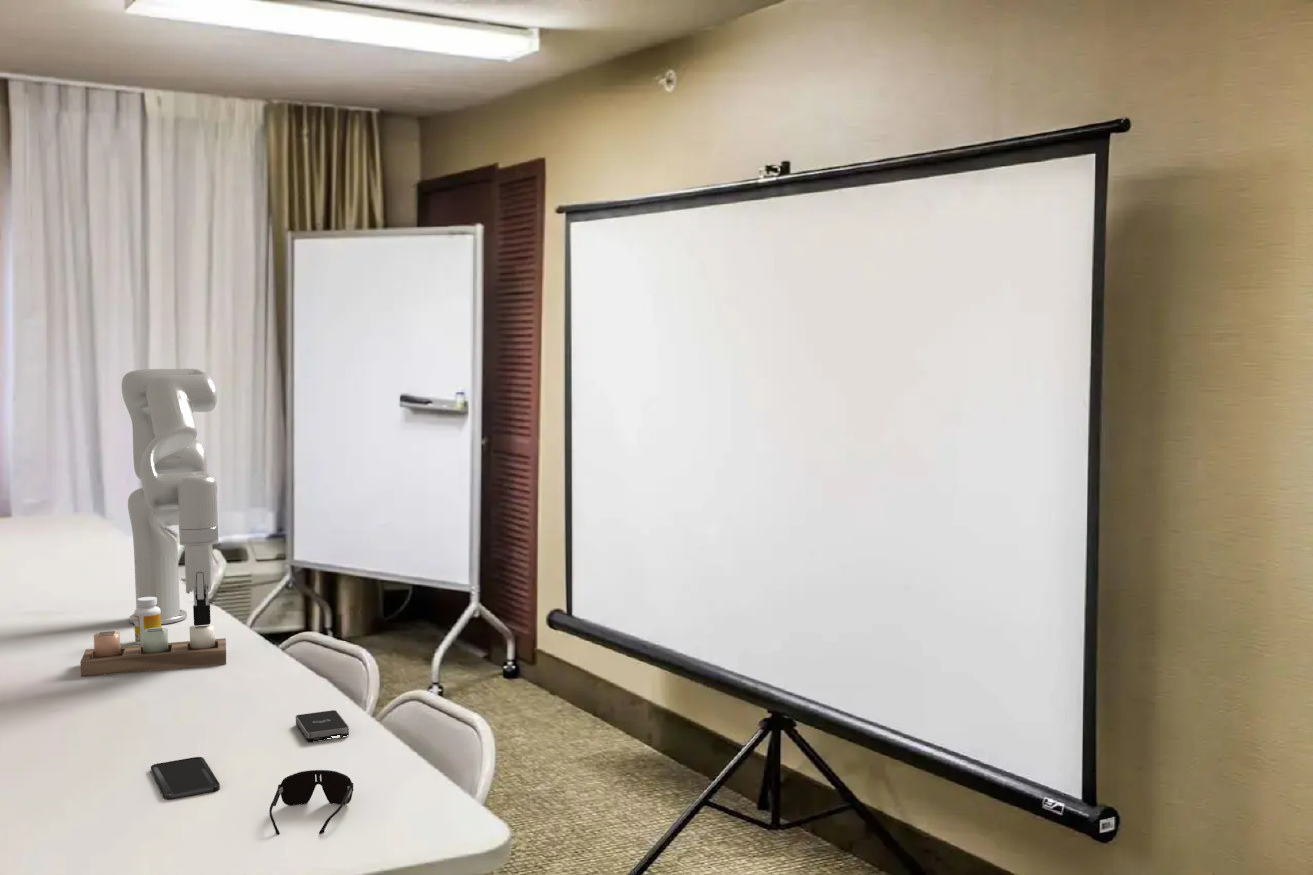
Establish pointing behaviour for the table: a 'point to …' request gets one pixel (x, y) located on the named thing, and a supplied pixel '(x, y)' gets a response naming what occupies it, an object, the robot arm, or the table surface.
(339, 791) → the sunglasses
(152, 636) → the button
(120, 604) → the table surface
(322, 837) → the table surface
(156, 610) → the supplement bottle
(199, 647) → the button
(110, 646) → the button
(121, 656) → the button board
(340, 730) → the external hard drive
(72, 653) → the table surface
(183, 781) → the phone
